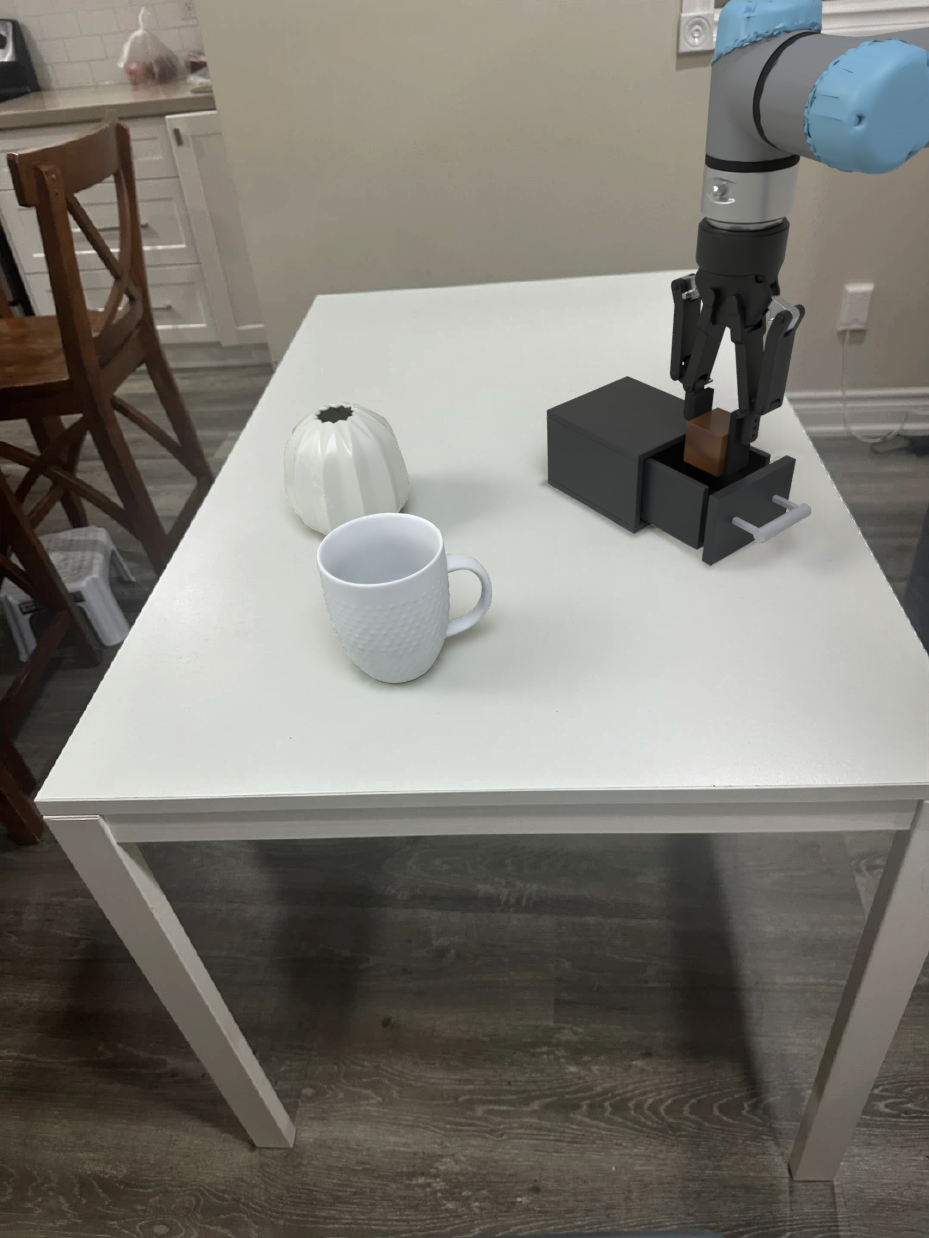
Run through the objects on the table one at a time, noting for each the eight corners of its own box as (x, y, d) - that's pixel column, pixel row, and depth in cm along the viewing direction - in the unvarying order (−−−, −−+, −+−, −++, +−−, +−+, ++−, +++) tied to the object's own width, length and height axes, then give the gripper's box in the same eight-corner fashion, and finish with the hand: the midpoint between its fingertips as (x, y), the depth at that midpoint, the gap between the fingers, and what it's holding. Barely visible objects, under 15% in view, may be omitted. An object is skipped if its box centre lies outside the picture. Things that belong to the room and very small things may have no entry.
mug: (482, 605, 87) (472, 494, 79) (510, 678, 79) (502, 561, 70) (335, 635, 85) (309, 524, 77) (348, 712, 77) (321, 597, 68)
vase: (435, 517, 100) (423, 411, 92) (333, 566, 94) (309, 457, 86) (372, 474, 109) (355, 373, 100) (274, 517, 103) (247, 414, 94)
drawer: (817, 540, 89) (832, 474, 84) (743, 585, 85) (754, 518, 80) (689, 476, 101) (695, 415, 96) (617, 512, 96) (619, 450, 91)
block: (747, 461, 88) (753, 421, 85) (716, 477, 86) (721, 436, 83) (713, 446, 91) (717, 406, 88) (683, 461, 89) (686, 421, 86)
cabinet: (713, 492, 100) (722, 415, 93) (634, 533, 94) (638, 456, 88) (624, 447, 109) (627, 375, 103) (547, 483, 104) (546, 409, 98)
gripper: (638, 209, 78) (628, 441, 93) (802, 249, 66) (759, 507, 81) (697, 191, 81) (677, 418, 96) (862, 226, 69) (811, 478, 84)
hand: (715, 458), depth 88 cm, fingers closed on block, 4 cm apart
